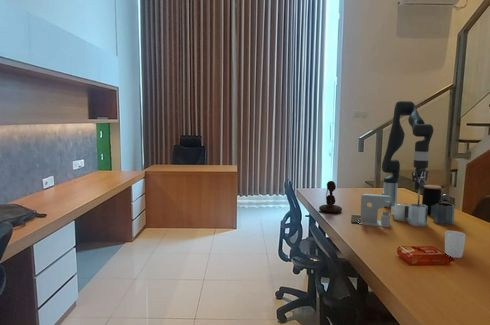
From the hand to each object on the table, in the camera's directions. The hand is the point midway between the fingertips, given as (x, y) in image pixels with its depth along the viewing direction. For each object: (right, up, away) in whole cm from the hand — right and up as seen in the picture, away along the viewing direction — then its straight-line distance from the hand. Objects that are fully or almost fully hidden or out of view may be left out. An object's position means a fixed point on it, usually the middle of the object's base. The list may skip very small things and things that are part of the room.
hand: (419, 188), depth 203 cm
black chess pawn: (-44, -18, +31) cm, 56 cm away
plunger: (0, -12, +1) cm, 12 cm away
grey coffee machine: (-25, -21, +3) cm, 33 cm away
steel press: (-1, -21, +3) cm, 21 cm away
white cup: (-8, -26, -46) cm, 54 cm away
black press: (+16, -20, +6) cm, 27 cm away
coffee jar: (+21, -18, +27) cm, 38 cm away
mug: (-5, -20, +13) cm, 24 cm away
